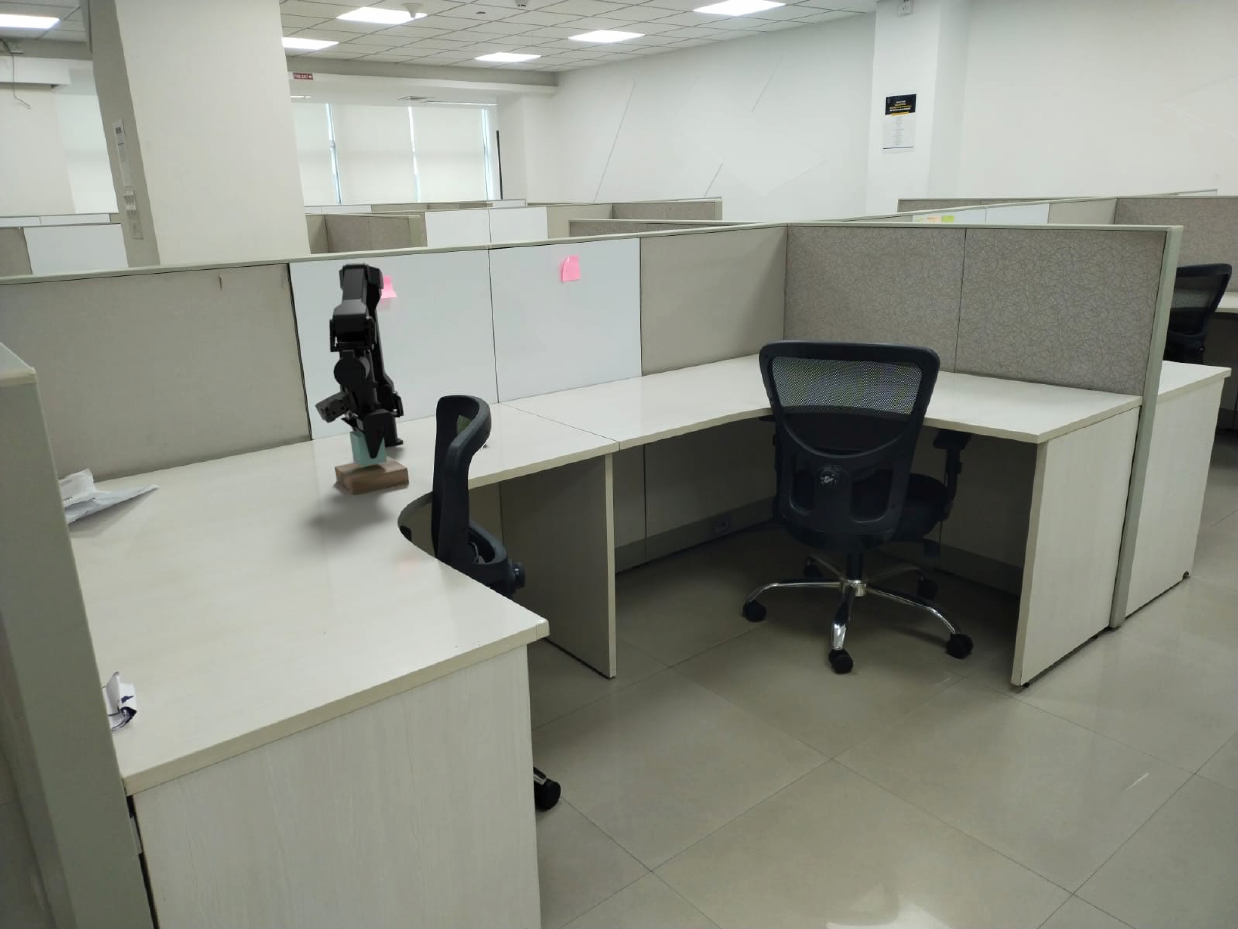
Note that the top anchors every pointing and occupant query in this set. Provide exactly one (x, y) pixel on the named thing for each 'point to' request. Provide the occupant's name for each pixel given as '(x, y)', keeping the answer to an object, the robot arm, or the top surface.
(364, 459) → the teal block
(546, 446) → the top surface
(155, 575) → the top surface
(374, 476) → the walnut base
